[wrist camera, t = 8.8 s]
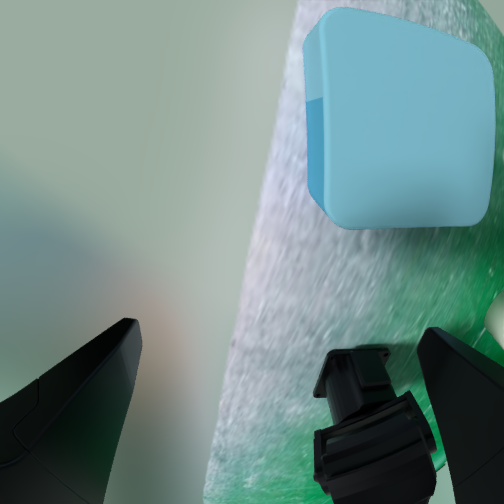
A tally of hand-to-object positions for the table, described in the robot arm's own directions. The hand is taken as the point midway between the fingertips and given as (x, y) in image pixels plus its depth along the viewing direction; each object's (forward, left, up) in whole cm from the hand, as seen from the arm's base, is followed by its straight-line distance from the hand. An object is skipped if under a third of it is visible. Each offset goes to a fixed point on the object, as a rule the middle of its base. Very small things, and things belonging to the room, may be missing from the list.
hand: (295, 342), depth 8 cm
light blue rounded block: (+8, -14, -10) cm, 19 cm away
